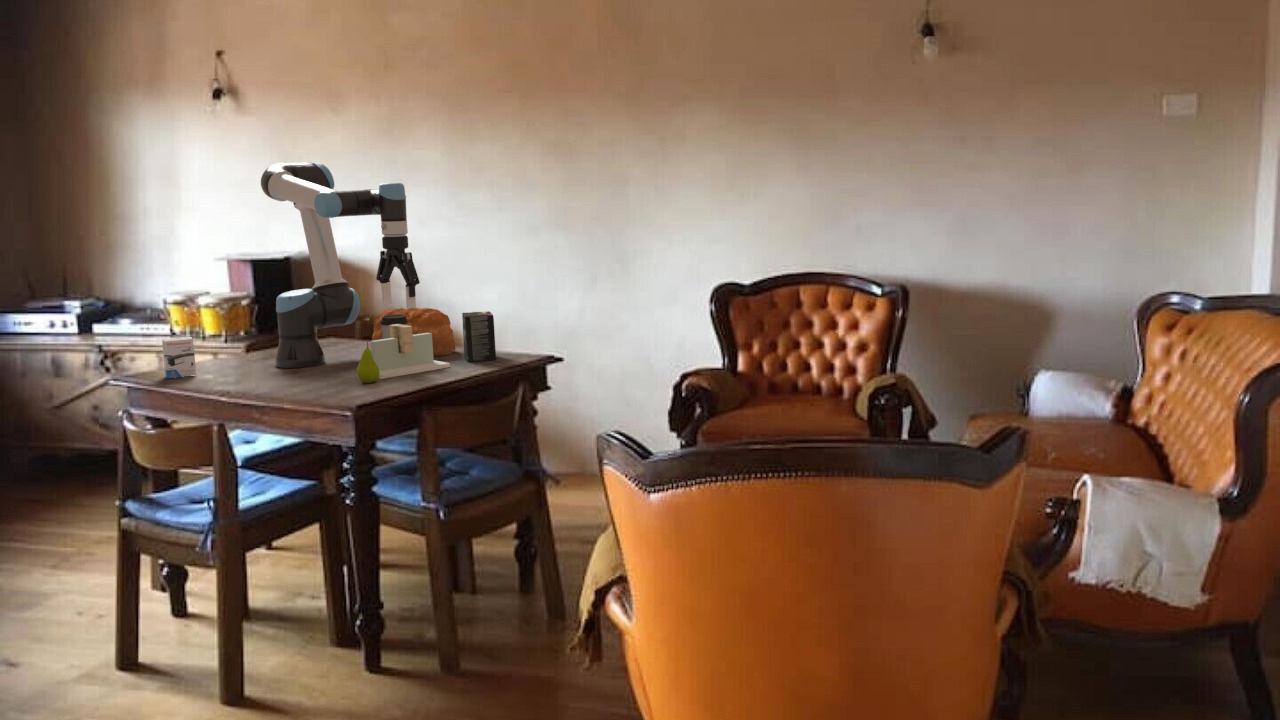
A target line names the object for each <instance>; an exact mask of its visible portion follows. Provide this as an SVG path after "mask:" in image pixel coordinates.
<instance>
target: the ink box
mask: <svg viewBox="0 0 1280 720" xmlns="http://www.w3.org/2000/svg"><path fill="white" fill-rule="evenodd" d="M161 340H162V341H161V342H162V343H161V344H162V353H163V363H164V374H165V378H166V379H167V378H173V379H176V378H175V377H183V378H185V377H184V376H191V375H196V376H197V367H196V366H197V365H196V356H195V346H194V345H195V344H194V339H193V337H192V336H181V337H168V338H167V337H166V338H162V339H161Z"/></svg>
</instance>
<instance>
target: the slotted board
mask: <svg viewBox="0 0 1280 720" xmlns="http://www.w3.org/2000/svg"><path fill="white" fill-rule="evenodd" d="M369 343H370V351H371V353H372V357H373V360H374V362H375V363H376V364H377V366H378V368H379V373H380V375H379V378H378V379H381V380H382V379H383V380H384V379H388V378H395V377H398V376H399V377H401V376H407V375H410V374H411V375H412V374H418V373H423V372H430V371H435V370H441V369H446V368H450V367H451V364H450V363H449V362H447V361H446V362H445V361H439V360H434V356H433V343H432V333H422V334H415V335H413V348H414V352H413V353H407V354H404V353H399V349H398V338H387V339H380V340H374V341H372V340H370V342H369Z"/></svg>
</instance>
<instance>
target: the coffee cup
mask: <svg viewBox="0 0 1280 720" xmlns="http://www.w3.org/2000/svg"><path fill="white" fill-rule="evenodd" d="M407 323H408V322H407V319H406V316H405V315H389V316H383V317H382V320H381V326H382V333H383V339H387V338H390V327H389V325H394V324H401V325H407Z"/></svg>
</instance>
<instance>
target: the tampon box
mask: <svg viewBox="0 0 1280 720" xmlns="http://www.w3.org/2000/svg"><path fill="white" fill-rule="evenodd" d="M461 314H462V315H461V317H462V318H461V319H462V335H463V336H462V337H463V356H464V358H465V360H466V361H467V362H468V363H469V362H470V363H471V362H484V361H485V362H487V361H497V355H496V354H497V353H496V352H497V351H496V336H495V321H494V320H495V319H494V314H493V313H492V312H491V311H472V312H462V313H461Z"/></svg>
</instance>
